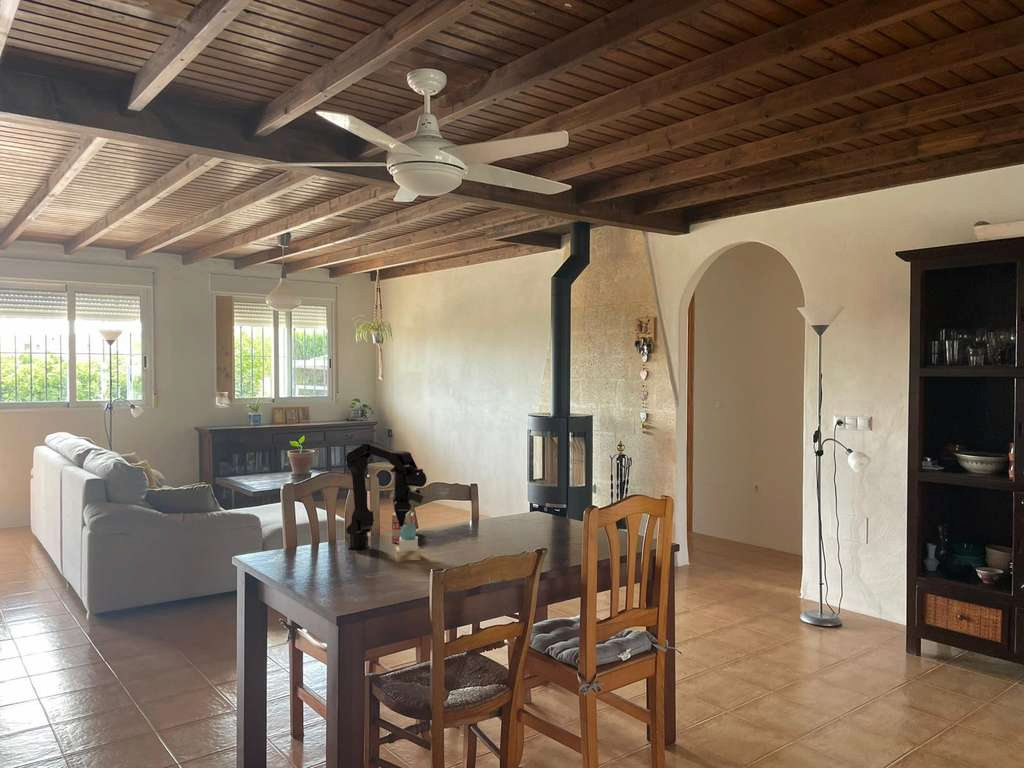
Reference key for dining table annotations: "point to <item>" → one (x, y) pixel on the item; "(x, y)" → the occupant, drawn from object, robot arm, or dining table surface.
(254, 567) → the dining table surface
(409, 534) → the seafoam tapered dome
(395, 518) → the beige printed box
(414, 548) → the white upper slab
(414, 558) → the oak base slab
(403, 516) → the robot arm
